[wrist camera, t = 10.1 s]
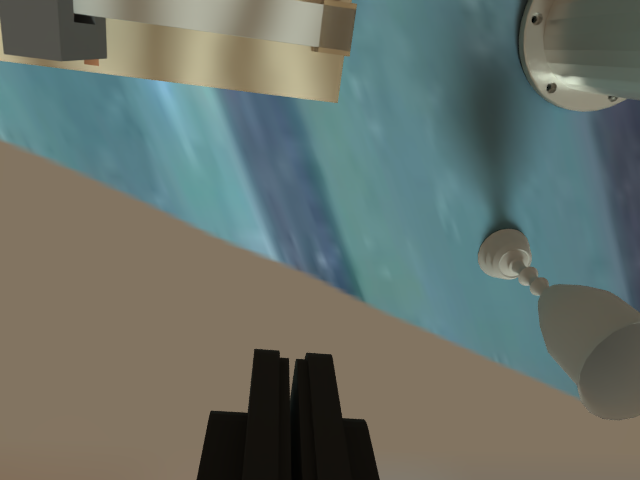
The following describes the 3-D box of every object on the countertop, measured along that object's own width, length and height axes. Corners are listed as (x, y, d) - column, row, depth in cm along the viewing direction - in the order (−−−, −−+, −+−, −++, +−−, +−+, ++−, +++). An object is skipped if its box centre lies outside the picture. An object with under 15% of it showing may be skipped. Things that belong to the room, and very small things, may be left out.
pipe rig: (354, -38, 35) (375, -62, 28) (335, 100, 39) (349, 114, 31) (-23, -99, 32) (-119, -145, 24) (-5, 58, 36) (-84, 61, 28)
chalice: (531, 287, 47) (668, 417, 30) (464, 288, 47) (566, 422, 30) (545, 217, 44) (704, 318, 28) (474, 217, 44) (593, 322, 27)
